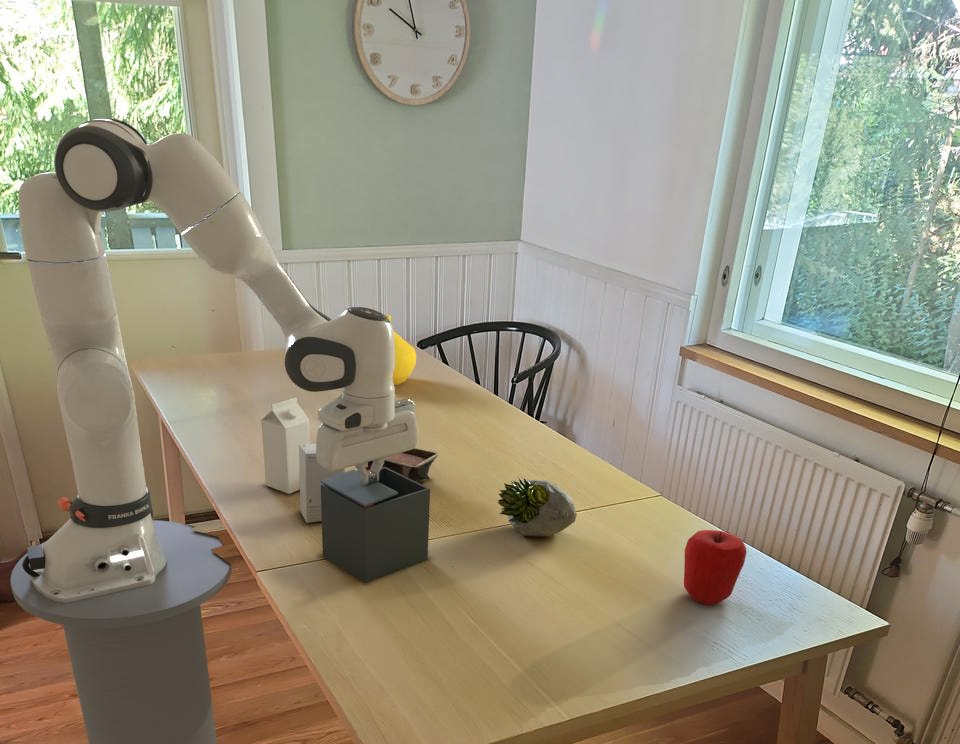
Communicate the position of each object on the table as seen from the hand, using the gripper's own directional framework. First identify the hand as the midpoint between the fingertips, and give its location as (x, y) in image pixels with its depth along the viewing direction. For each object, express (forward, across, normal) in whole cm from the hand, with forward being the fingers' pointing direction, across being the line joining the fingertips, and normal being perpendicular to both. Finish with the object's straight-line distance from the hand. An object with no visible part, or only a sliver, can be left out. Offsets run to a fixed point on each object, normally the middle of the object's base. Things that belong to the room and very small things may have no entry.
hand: (369, 482), depth 156 cm
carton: (+16, -1, 0) cm, 16 cm away
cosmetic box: (+16, -4, -21) cm, 27 cm away
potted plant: (+16, -33, +11) cm, 39 cm away
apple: (+16, -39, +49) cm, 65 cm away
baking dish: (+16, -27, -26) cm, 41 cm away
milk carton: (+16, -7, -38) cm, 42 cm away
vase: (+16, -74, -87) cm, 116 cm away
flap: (+1, +2, 0) cm, 2 cm away
